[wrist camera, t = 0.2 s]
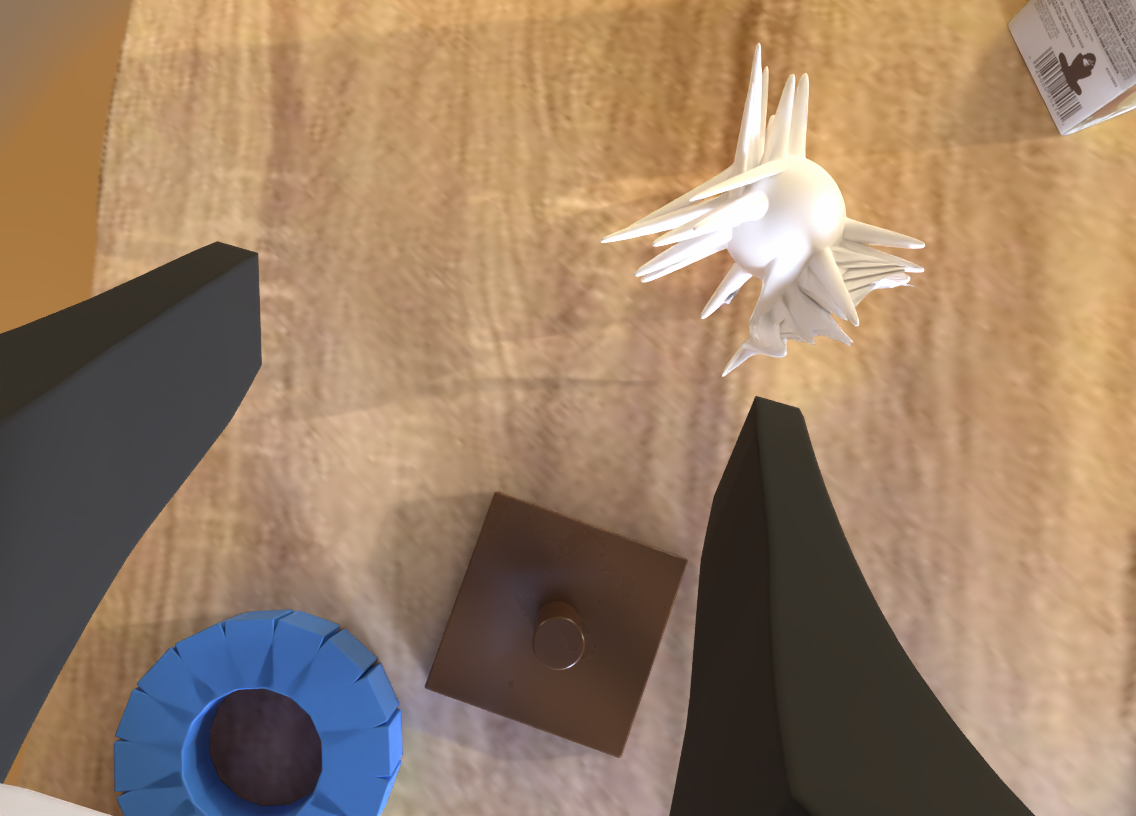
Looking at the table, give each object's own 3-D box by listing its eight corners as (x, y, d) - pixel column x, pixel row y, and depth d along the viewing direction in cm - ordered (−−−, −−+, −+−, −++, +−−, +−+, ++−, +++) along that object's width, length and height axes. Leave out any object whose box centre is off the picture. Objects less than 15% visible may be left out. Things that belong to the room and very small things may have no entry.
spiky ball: (681, 421, 46) (719, 427, 37) (551, 196, 45) (560, 151, 37) (887, 299, 46) (970, 279, 38) (761, 75, 46) (816, 4, 37)
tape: (349, 907, 43) (332, 941, 39) (107, 820, 43) (71, 846, 39) (438, 659, 44) (429, 673, 40) (201, 575, 44) (173, 581, 40)
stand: (619, 751, 43) (631, 799, 37) (427, 683, 43) (405, 718, 37) (684, 557, 44) (709, 570, 37) (496, 490, 44) (486, 491, 38)
